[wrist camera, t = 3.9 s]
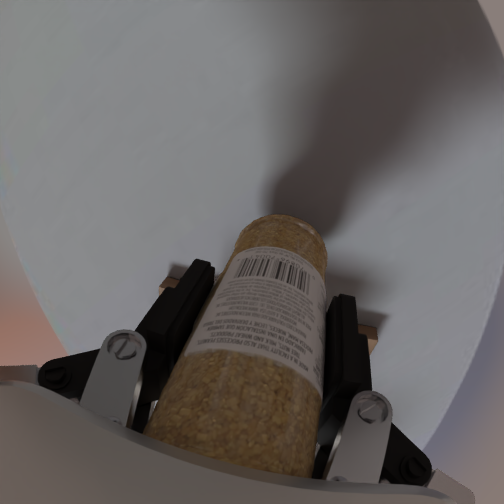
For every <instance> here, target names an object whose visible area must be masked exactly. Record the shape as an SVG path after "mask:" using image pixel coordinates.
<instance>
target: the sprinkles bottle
mask: <svg viewBox="0 0 504 504" xmlns="http://www.w3.org/2000/svg"><path fill="white" fill-rule="evenodd" d="M326 267H327V251H326V247H325V244H324V242H323V240H322V238H321V236H320V235H319V233H318V232H317V231H316V230H315V229H314V228H313V227H312V226H311V225H310V224H308V223H306V222H305V221H303V220H301V219H299V218H296V217H292V216H289V215H276V214H273V215H267V216H264V217H261V218H259V219H257V220H254V221H253V222H252V223H251V224H249V225H248V226H247V227H245V228H244V229H243V230H242V232H241V233H240V235H239V238H238V240H237V242H236V244H235V250H234V252H233V254H232V255H231V257H230V260H229V261H228V263H227V265H226V267H225V269H224V271H223V272H222V273H221V274H220V275H219V276H218V278H217V280H216V282H215V284H214V286H213V287H212V289H211V291H210V293H209V295H208V297H207V299H206V301H205V303H204V304H203V306H202V308H201V310H200V312H199V314H198V316H197V318H196V320H195V322H194V325H193V330H192V332H191V334H190V336H189V338H188V340H187V342H186V343H185V346H184V348H183V349H182V352H181V354H180V356H179V358H178V360H177V362H176V364H175V366H174V368H173V370H172V373H171V375H170V377H169V379H168V381H167V383H166V385H165V387H164V388H163V390H162V392H161V395H160V398H159V400H158V402H157V404H156V406H155V408H154V411H153V413H152V415H151V418H150V420H149V423H148V424H147V425H146V426H145V429H144V431H143V433H142V434H143V435H146V436H148V437H151V438H153V439H156V440H158V441H161V442H164V443H166V444H169V445H172V446H175V447H178V448H181V449H184V450H187V451H190V452H193V453H196V454H199V455H202V456H206V457H209V458H213V459H216V460H220V461H224V462H227V463H231V464H235V465H239V466H244V467H248V468H252V469H257V470H262V471H267V472H272V473H278V474H283V475H290V476H296V477H303V478H312V472H313V469H314V460H315V451H316V443H317V432H318V424H319V414H320V412H321V408H322V399H323V385H324V367H325V346H326V289H325V270H326Z"/></svg>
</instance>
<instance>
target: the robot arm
mask: <svg viewBox="0 0 504 504" xmlns="http://www.w3.org/2000/svg"><path fill="white" fill-rule="evenodd" d="M214 274H215V268H214V267H212V266H211V263H210V262H208V261H204V260H200V259H195V260H194V261H193V263H192V264H191V266H190V267H189V268H188V270H187V271H186V273H185V274H184V275H183V277H182V278H181V280H180V281H179V283H178V284H177V285H176V287H175V288H173V287H169V286H168V287H166V288H165V289H164V290H163V292H162V293H161V295H160V296H159V297H158V299H157V300H156V301H155V303H154V304H153V306H152V307H151V308H150V310H149V311H148V313H147V314H146V315H145V317H144V318H143V320H142V321H141V322H140V324H139V325H138V327H137V328H136V330H135V331H132V330H124V329H123V330H117V331H115V332H113V333H111V334H109V335H108V336H107V337H106V338H105V340H104V341H103V344H102V346H101V349H96V350H92V351H88V352H84V353H79V354H75V355H71V356H66V357H62V358H57V359H53V360H50V361H48V362H46V363H45V364H44V365H43V366H42V367H41V368H38V367H37V365H20V366H0V504H475V497H474V494H473V492H471V490H470V489H468V488H467V487H465V486H463V485H462V484H460V483H458V482H457V481H455V480H454V479H452V478H451V477H449V476H448V475H446V474H445V473H443V472H442V471H440V470H438V469H436V470H433V469H432V465H431V463H430V460H429V459H428V458H427V456H426V455H425V454H424V453H423V452H422V451H421V450H420V449H419V448H418V447H417V446H416V445H415V444H414V443H413V442H411V441H410V440H409V439H408V438H407V437H406V436H405V435H404V434H403V433H402V432H401V431H400V430H399V429H398V428H397V427H396V426H395V425H394V424H393V423H392V422H391V421H392V415H393V414H392V407H391V404H390V402H389V401H388V400H387V398H386V397H384V396H383V395H382V394H380V393H378V392H375V391H372V381H371V368H370V357H369V347H368V338H367V335H366V334H361V333H359V332H358V321H357V310H356V301H355V297H354V296H349V295H345V294H340V295H339V297H336V296H334V297H333V299H332V302H331V304H330V307H329V309H328V312H327V314H326V346H325V367H324V385H323V399H322V408H321V412H320V414H319V424H318V432H317V442H318V445H317V447H316V451H315V460H314V469H313V472H312V478H303V477H296V476H290V475H283V474H278V473H272V472H267V471H262V470H257V469H252V468H248V467H244V466H239V465H235V464H231V463H227V462H224V461H220V460H216V459H213V458H209V457H206V456H202V455H199V454H196V453H193V452H190V451H187V450H184V449H181V448H178V447H175V446H172V445H169V444H166V443H164V442H161V441H158V440H156V439H153V438H151V437H148V436H146V435H143V434H142V433H143V431H144V429H145V426H146V425H147V424H148V423H149V420H150V418H151V415H152V413H153V410H154V405H155V401H156V400H159V398H160V395H161V392H162V390H163V388H164V387H165V385H166V383H167V381H168V379H169V377H170V375H171V373H172V370H173V368H174V366H175V364H176V362H177V360H178V358H179V356H180V354H181V352H182V349H183V348H184V346H185V343H186V342H187V340H188V338H189V336H190V334H191V332H192V330H193V325H194V322H195V320H196V318H197V316H198V314H199V312H200V310H201V308H202V306H203V304H204V303H205V301H206V299H207V297H208V295H209V293H210V291H211V289H212V287H213V284H214Z"/></svg>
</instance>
